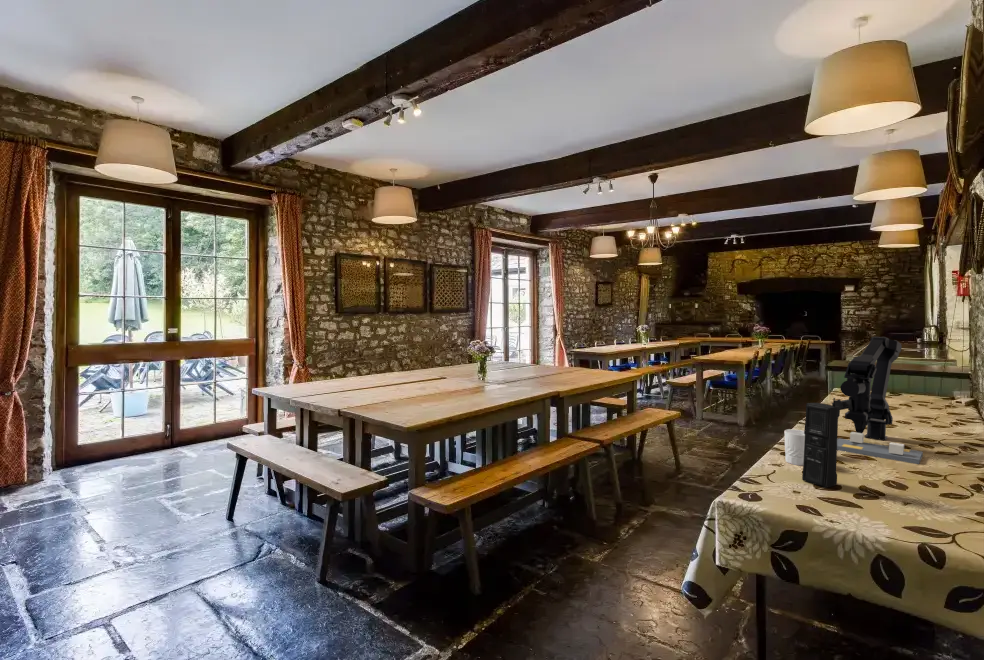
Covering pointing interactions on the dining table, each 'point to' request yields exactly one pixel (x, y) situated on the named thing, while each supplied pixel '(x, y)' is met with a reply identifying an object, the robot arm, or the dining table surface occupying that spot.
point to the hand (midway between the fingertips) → (859, 435)
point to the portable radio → (821, 444)
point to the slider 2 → (896, 448)
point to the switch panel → (878, 451)
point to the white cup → (794, 446)
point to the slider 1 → (856, 437)
